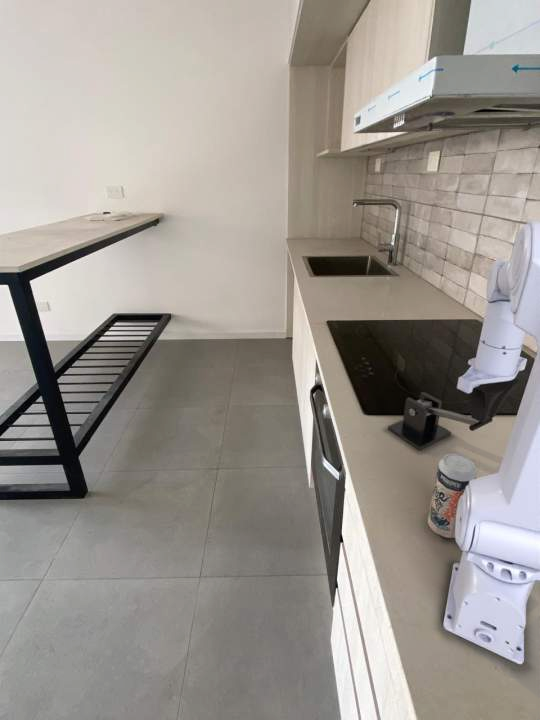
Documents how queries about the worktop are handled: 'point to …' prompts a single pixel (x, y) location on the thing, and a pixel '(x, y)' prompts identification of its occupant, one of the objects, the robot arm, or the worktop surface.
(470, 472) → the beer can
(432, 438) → the bracket
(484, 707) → the worktop surface
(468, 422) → the lever
